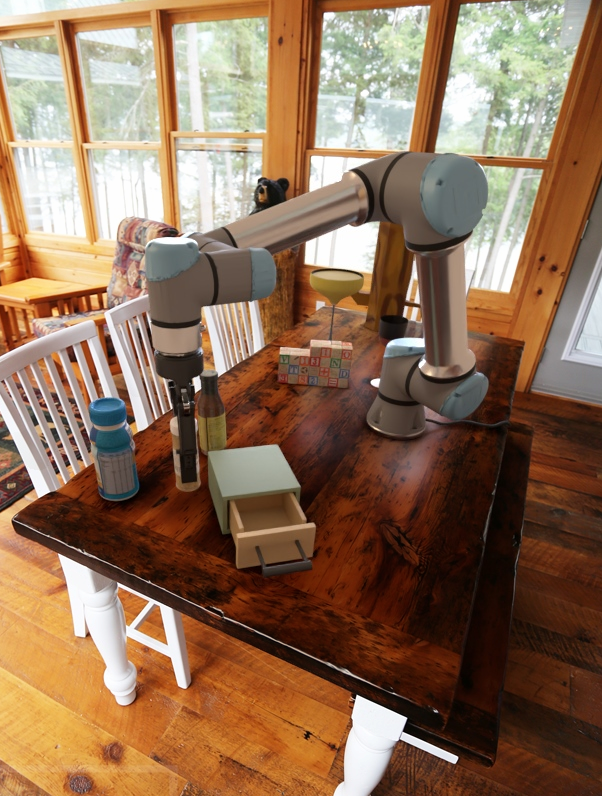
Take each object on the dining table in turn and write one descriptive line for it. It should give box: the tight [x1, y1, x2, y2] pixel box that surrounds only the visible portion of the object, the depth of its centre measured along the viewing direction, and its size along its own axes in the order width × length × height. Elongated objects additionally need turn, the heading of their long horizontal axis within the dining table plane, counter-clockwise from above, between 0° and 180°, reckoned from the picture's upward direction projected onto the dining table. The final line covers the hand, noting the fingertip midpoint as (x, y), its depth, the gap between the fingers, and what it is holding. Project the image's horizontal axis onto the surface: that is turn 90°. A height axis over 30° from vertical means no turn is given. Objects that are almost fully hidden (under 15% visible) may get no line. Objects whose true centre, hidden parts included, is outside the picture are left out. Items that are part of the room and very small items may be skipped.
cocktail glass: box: [309, 268, 365, 341], centre depth 176 cm, size 18×18×25 cm
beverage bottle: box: [87, 396, 140, 502], centre depth 100 cm, size 8×8×20 cm
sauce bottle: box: [196, 369, 228, 457], centre depth 115 cm, size 7×6×20 cm
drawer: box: [227, 492, 317, 579], centre depth 89 cm, size 21×14×7 cm, turn 15°
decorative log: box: [350, 222, 421, 332], centre depth 194 cm, size 14×40×30 cm
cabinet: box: [207, 443, 302, 535], centre depth 101 cm, size 16×15×9 cm
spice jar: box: [169, 416, 202, 493], centre depth 89 cm, size 5×5×13 cm
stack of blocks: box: [277, 339, 353, 389], centre depth 153 cm, size 21×6×12 cm, turn 84°
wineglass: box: [370, 315, 409, 389], centre depth 151 cm, size 8×9×20 cm
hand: (187, 473), depth 91 cm, fingers closed on spice jar, 4 cm apart
